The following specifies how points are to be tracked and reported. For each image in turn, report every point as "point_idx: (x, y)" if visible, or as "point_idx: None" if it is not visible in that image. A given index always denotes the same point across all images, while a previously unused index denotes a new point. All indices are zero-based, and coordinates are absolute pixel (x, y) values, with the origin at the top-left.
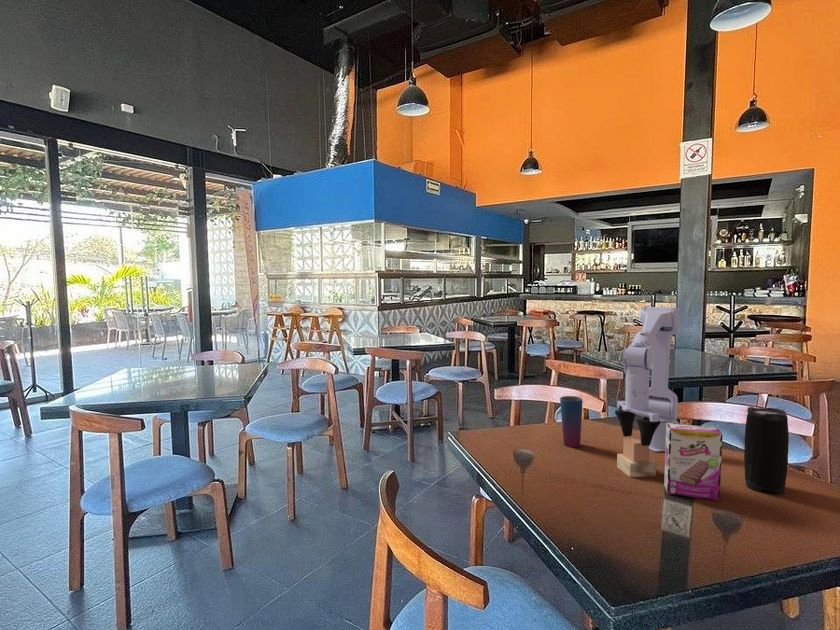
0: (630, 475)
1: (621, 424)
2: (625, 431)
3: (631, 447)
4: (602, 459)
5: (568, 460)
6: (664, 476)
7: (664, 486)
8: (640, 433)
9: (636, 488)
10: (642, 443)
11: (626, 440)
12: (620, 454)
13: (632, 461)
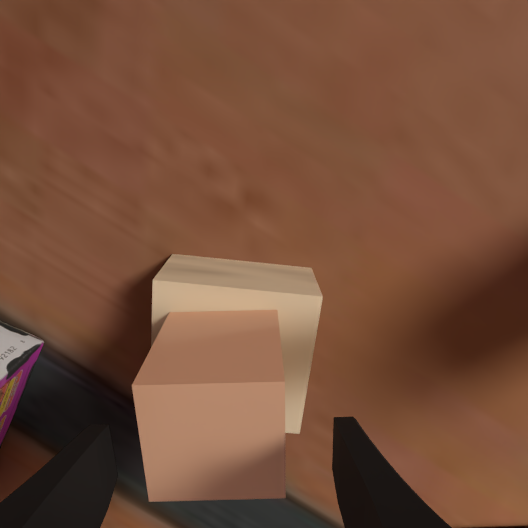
0: (169, 258)
1: (389, 493)
2: (344, 459)
3: (177, 357)
4: (426, 249)
5: (484, 19)
6: (9, 364)
7: (38, 338)
8: (39, 502)
9: (31, 201)
10: (83, 435)
11: (242, 378)
12: (306, 308)
13: (180, 310)
